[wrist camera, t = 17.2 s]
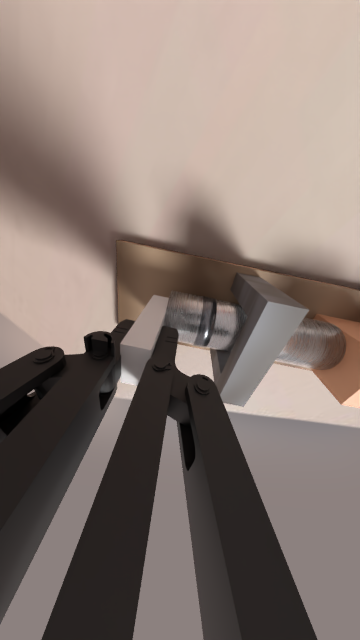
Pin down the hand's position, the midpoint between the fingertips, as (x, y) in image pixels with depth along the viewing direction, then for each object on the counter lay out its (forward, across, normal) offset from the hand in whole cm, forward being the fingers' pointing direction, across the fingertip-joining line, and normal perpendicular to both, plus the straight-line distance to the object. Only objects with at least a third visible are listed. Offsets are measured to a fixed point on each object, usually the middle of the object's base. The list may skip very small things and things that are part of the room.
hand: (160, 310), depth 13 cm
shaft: (+1, +7, 0) cm, 7 cm away
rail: (+2, +9, 0) cm, 9 cm away
